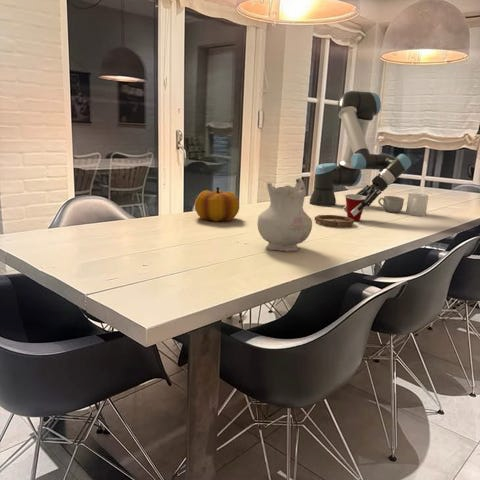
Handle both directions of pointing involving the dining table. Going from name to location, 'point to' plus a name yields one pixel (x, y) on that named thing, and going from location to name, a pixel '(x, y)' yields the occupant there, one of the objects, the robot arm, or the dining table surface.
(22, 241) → the dining table surface
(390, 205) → the teacup
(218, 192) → the decorative pumpkin
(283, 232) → the ceramic pitcher
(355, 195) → the plastic cup
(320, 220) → the octagonal wooden tray
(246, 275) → the dining table surface
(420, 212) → the mug
